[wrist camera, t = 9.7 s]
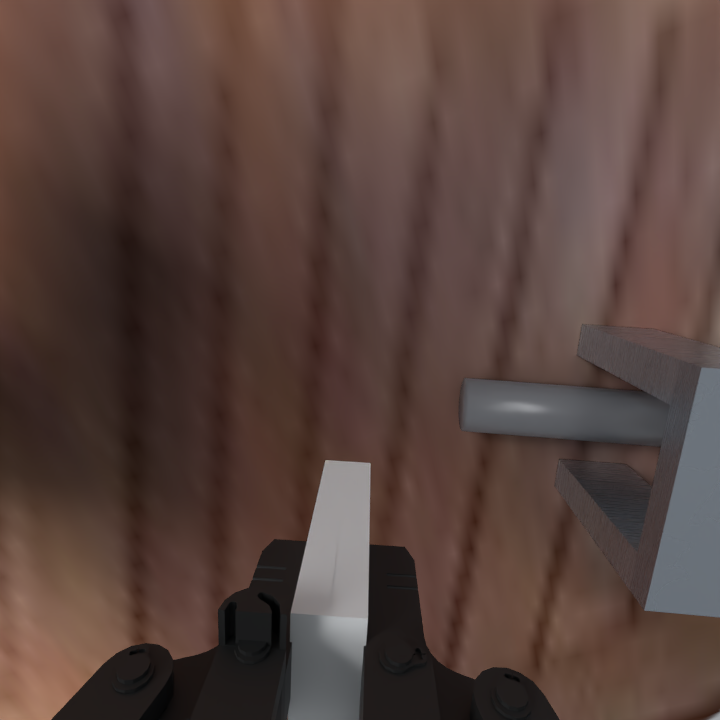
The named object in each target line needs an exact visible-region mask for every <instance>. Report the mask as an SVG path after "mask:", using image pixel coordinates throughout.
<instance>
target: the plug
mask: <svg viewBox="0 0 720 720" xmlns="http://www.w3.org/2000/svg"><path fill="white" fill-rule="evenodd" d="M669 409H670V405H669V404H667V403H665V402H664V401H662V400H660V399H658V398H656V397H654V396H652V395H651V394H649V393H647V392H645V391H633V390H620V389H607V388H593V387H580V386H567V385H553V384H540V383H526V382H513V381H500V380H486V379H473V378H464V380H463V382H462V385H461V390H460V397H459V425H460V429H461V431H469V432H481V433H494V434H506V435H519V436H531V437H544V438H556V439H569V440H581V441H594V442H607V443H619V444H632V445H644V446H657V447H661V444H662V440H663V436H664V431H665V427H666V422H667V418H668V413H669Z"/></svg>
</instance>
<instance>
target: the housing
mask: <svg viewBox="0 0 720 720" xmlns="http://www.w3.org/2000/svg"><path fill="white" fill-rule="evenodd" d="M577 355H578V356H580V357H581V358H583V359H585V360H587V361H589V362H591V363H593V364H594V365H596V366H598V367H600V368H602V369H604V370H606V371H608V372H609V373H611V374H613V375H615V376H617V377H619V378H621V379H623V380H624V381H626V382H628V383H630V384H632V385H634V386H636V387H637V388H639V389H641V390H643V391H645V392H647V393H649V394H651V395H652V396H654V397H656V398H658V399H660V400H662V401H664V402H665V403H667V404H669V405H670V409H669V413H668V418H667V422H666V427H665V431H664V436H663V440H662V444H661V449H660V453H659V458H658V462H657V467H656V471H655V476H654V480H653V485H652V487H651V486H650V485H649V484H648V483H647V482H646V481H645V480H644V479H642V478H641V477H640V476H639V475H638V474H637V473H636V472H634V471H633V470H632V469H631V468H630V467H629V466H628V465H626V464H617V463H605V462H592V461H579V460H566V459H559V462H558V468H557V474H556V480H555V487H556V489H557V490H558V491H559V493H560V494H561V495H562V497H563V498H564V500H565V501H566V502H567V504H568V505H569V507H570V508H571V509H572V511H573V512H574V514H575V515H576V516H577V518H578V519H579V520H580V522H581V523H582V525H583V526H584V527H585V529H586V530H587V532H588V533H589V534H590V536H591V537H592V539H593V540H594V541H595V543H596V544H597V545H598V547H599V548H600V550H601V551H602V552H603V554H604V555H605V557H606V558H607V559H608V561H609V562H610V564H611V565H612V566H613V568H614V569H615V570H616V572H617V573H618V575H619V576H620V577H621V579H622V580H623V582H624V583H625V584H626V586H627V587H628V589H629V590H630V591H631V593H632V594H633V595H634V597H635V598H636V600H637V601H638V602H639V604H640V605H641V607H642V608H643V609H644V610H645V611H656V612H667V613H678V614H688V615H699V616H710V617H720V347H717V346H713V345H709V344H706V343H702V342H699V341H695V340H692V339H688V338H685V337H681V336H678V335H674V334H670V333H667V332H663V331H660V330H656V329H648V328H633V327H617V326H602V325H587V324H582V328H581V334H580V339H579V345H578V351H577Z"/></svg>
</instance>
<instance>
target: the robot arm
mask: <svg viewBox="0 0 720 720" xmlns="http://www.w3.org/2000/svg"><path fill="white" fill-rule="evenodd" d="M370 467H371V463H363V462H348V461H333V460H325V464H324V469H323V473H322V478H321V482H320V486H319V491H318V495H317V499H316V504H315V508H314V513H313V517H312V521H311V526H310V530H309V534H308V539H307V542H306V541H292V540H277V539H274V540H273V541H272V542H271V543H270V544H269V545H268V546H267V547H266V548H265V549H264V550H263V551H262V554H261V556H260V559H259V562H258V565H257V568H256V570H255V573H254V576H253V580H252V581H251V584H250V586H249V588H247V589H244V590H241V591H239V592H236V593H234V594H233V595H231V596H230V597H229V598H227V599H226V600H225V601H224V602H223V604H222V605H221V606H220V608H219V609H218V628H219V645H218V646H217V647H215V648H213V649H211V650H209V651H207V652H205V653H201V654H198V655H195V656H190V657H186V658H181V659H176V660H173V659H172V657H171V655H170V653H169V651H168V650H167V649H165V648H163V647H162V646H160V645H157V644H147V643H145V644H140V645H135V646H131V647H129V648H127V649H124V650H122V651H120V652H118V653H116V654H115V655H114V656H113V657H111V658H110V659H109V660H108V661H107V662H105V663H104V664H103V665H102V666H101V667H100V668H99V669H98V671H97V672H96V673H95V674H94V675H93V676H92V677H91V678H90V679H89V680H88V681H87V682H86V683H85V684H84V685H83V687H82V688H81V689H80V690H79V691H78V692H77V693H76V694H75V695H74V696H73V697H72V698H71V699H70V700H69V701H68V702H67V704H66V705H65V706H64V707H63V708H62V709H61V710H60V711H59V712H58V713H57V714H56V715H55V716H54V717H53V718H52V720H287V715H288V720H559V718H558V716H557V715H556V713H555V712H554V710H553V708H552V707H551V705H550V704H549V702H548V700H547V699H546V697H545V696H544V694H543V693H542V692H541V690H540V689H539V688H538V687H537V686H536V685H535V683H534V682H533V681H531V680H530V679H528V678H527V677H525V676H524V675H523V674H521V673H519V672H516V671H514V670H511V669H508V668H497V667H493V668H490V669H487V670H485V671H482V672H481V674H480V675H479V676H478V677H477V678H476V679H475V680H474V679H472V678H469V677H467V676H464V675H461V674H459V673H456V672H454V671H452V670H450V669H448V668H446V667H445V666H444V665H442V664H441V663H440V662H438V661H437V660H436V659H435V657H434V656H433V655H432V654H431V653H430V651H429V649H428V647H427V646H426V642H425V639H424V633H423V625H422V617H421V609H420V602H419V594H418V586H417V578H416V570H415V563H414V559H413V558H412V556H411V555H410V554H409V552H408V551H407V549H406V548H405V547H398V546H383V545H369V528H370Z"/></svg>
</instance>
